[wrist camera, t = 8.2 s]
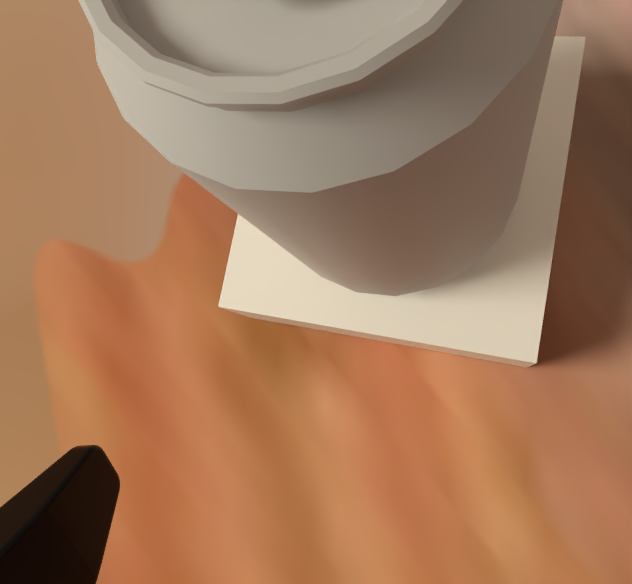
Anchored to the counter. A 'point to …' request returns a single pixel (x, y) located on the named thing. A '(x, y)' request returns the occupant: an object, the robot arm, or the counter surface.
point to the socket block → (455, 294)
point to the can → (341, 119)
